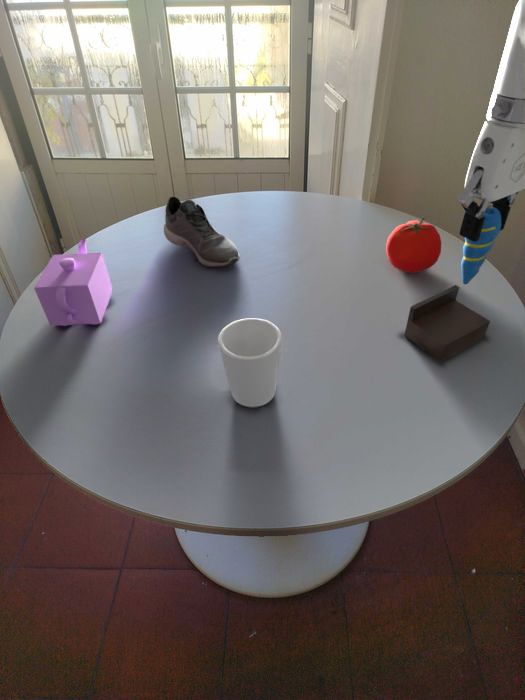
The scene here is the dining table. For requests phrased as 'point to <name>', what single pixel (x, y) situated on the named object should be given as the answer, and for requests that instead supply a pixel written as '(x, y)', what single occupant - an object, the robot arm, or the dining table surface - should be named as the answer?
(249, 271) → the dining table surface
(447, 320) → the shelf
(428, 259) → the tomato
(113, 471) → the dining table surface
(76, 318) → the teapot
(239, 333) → the cup
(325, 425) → the dining table surface
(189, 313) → the dining table surface
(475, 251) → the ornament
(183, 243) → the athletic shoe
